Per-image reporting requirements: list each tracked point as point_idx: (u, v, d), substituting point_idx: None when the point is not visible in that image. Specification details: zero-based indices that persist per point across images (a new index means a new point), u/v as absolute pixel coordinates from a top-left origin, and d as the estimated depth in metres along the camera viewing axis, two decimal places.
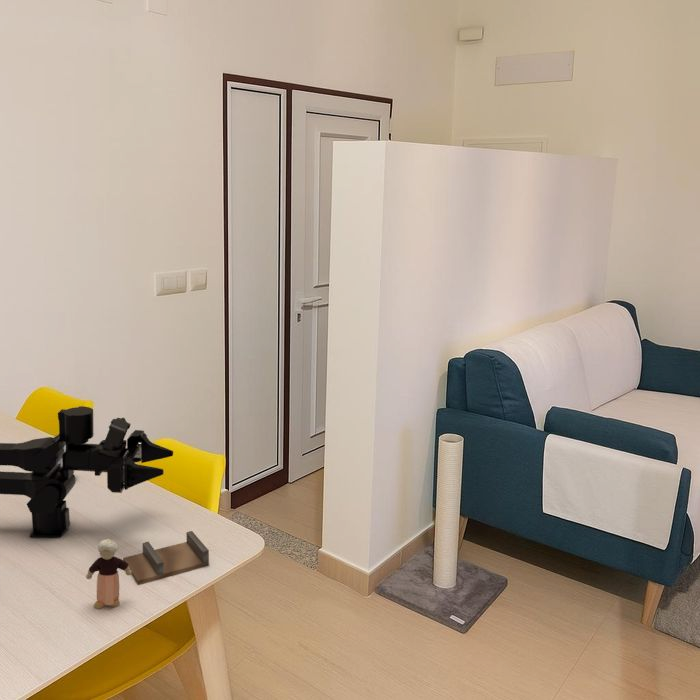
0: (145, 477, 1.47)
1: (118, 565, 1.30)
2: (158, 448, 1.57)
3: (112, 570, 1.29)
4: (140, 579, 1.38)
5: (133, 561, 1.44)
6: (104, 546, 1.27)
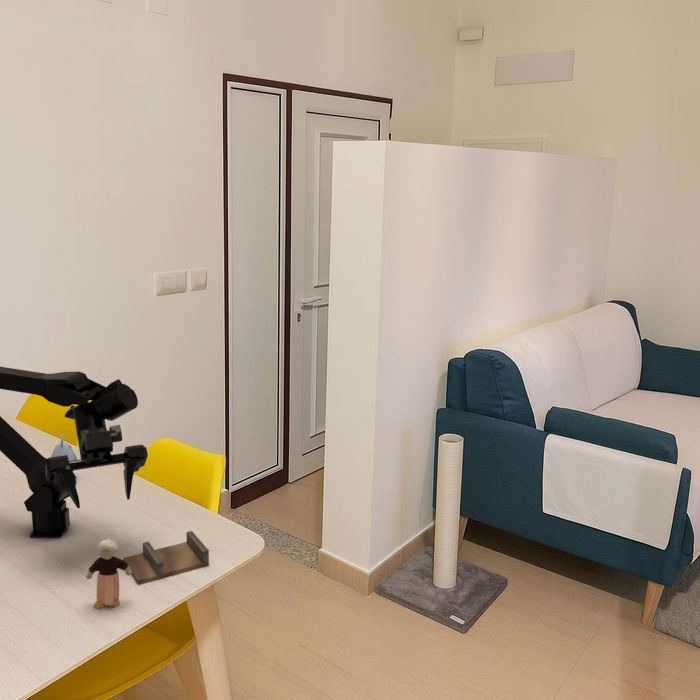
0: (69, 493, 1.39)
1: (118, 565, 1.30)
2: (126, 482, 1.43)
3: (112, 570, 1.29)
4: (140, 579, 1.38)
5: (133, 561, 1.44)
6: (104, 546, 1.27)
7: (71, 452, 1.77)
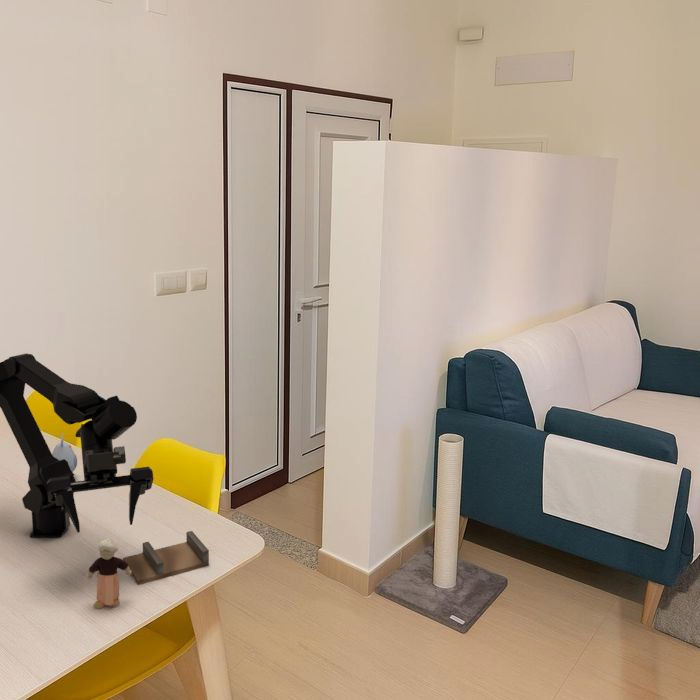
0: (70, 516, 1.34)
1: (118, 565, 1.30)
2: (130, 506, 1.36)
3: (112, 570, 1.29)
4: (140, 579, 1.38)
5: (133, 561, 1.44)
6: (104, 546, 1.27)
7: (71, 452, 1.77)
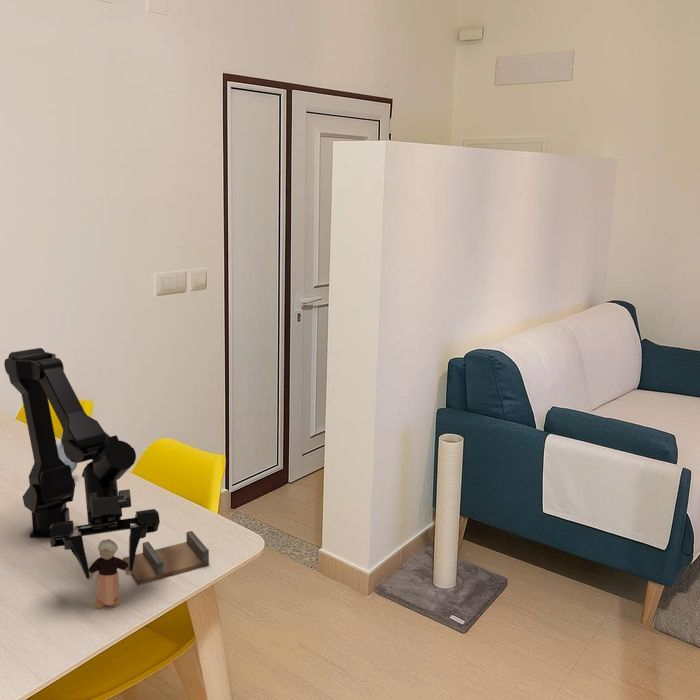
0: (79, 562, 1.29)
1: (118, 565, 1.30)
2: (130, 552, 1.31)
3: (112, 570, 1.29)
4: (140, 579, 1.38)
5: None
6: (104, 546, 1.27)
7: None
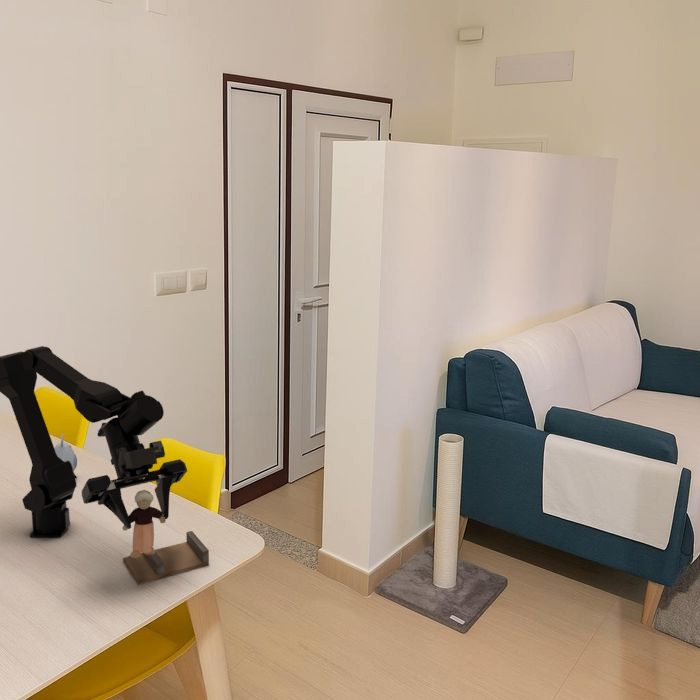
0: (117, 514, 1.33)
1: (153, 514, 1.35)
2: (163, 500, 1.36)
3: (149, 519, 1.34)
4: (140, 579, 1.38)
5: (133, 561, 1.44)
6: (142, 496, 1.32)
7: (71, 452, 1.77)
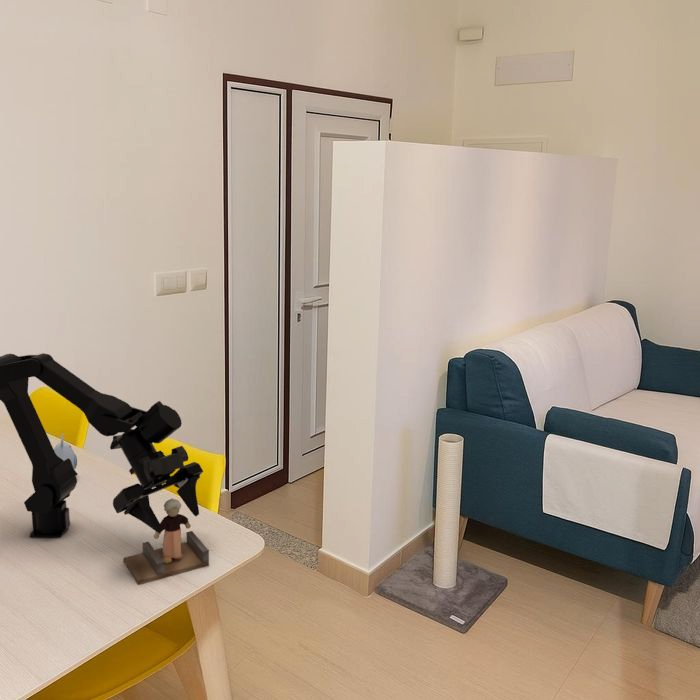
0: (145, 521, 1.40)
1: (180, 520, 1.45)
2: (192, 499, 1.47)
3: (178, 525, 1.44)
4: (140, 579, 1.38)
5: (133, 561, 1.44)
6: (173, 504, 1.42)
7: (71, 452, 1.77)
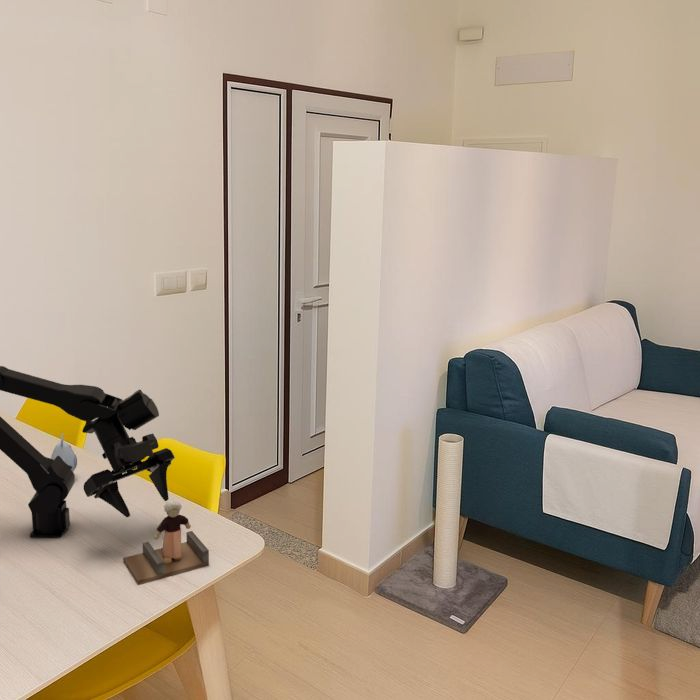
0: (114, 505, 1.45)
1: (181, 521, 1.45)
2: (162, 485, 1.52)
3: (178, 526, 1.44)
4: (140, 579, 1.38)
5: (133, 561, 1.44)
6: (173, 505, 1.42)
7: (71, 452, 1.77)
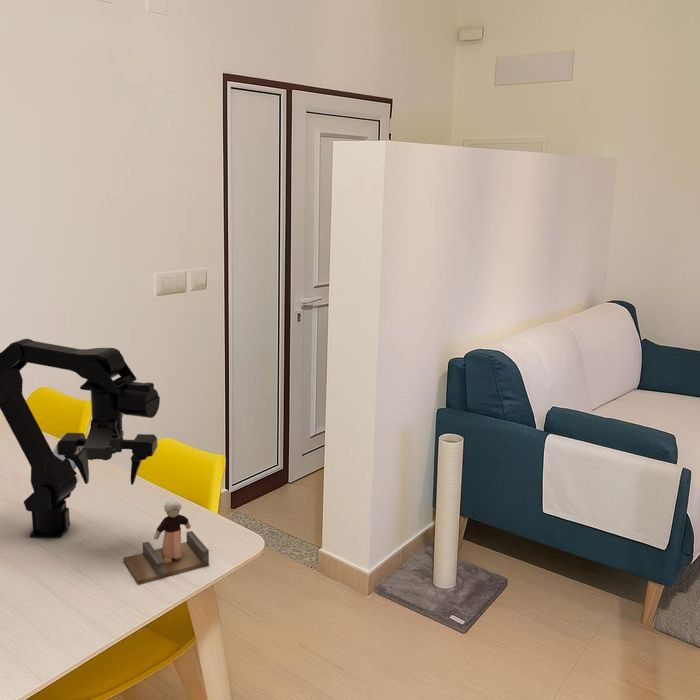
0: None
1: (181, 521, 1.45)
2: (131, 471, 1.48)
3: (178, 526, 1.44)
4: (140, 579, 1.38)
5: (133, 561, 1.44)
6: (173, 505, 1.42)
7: None
